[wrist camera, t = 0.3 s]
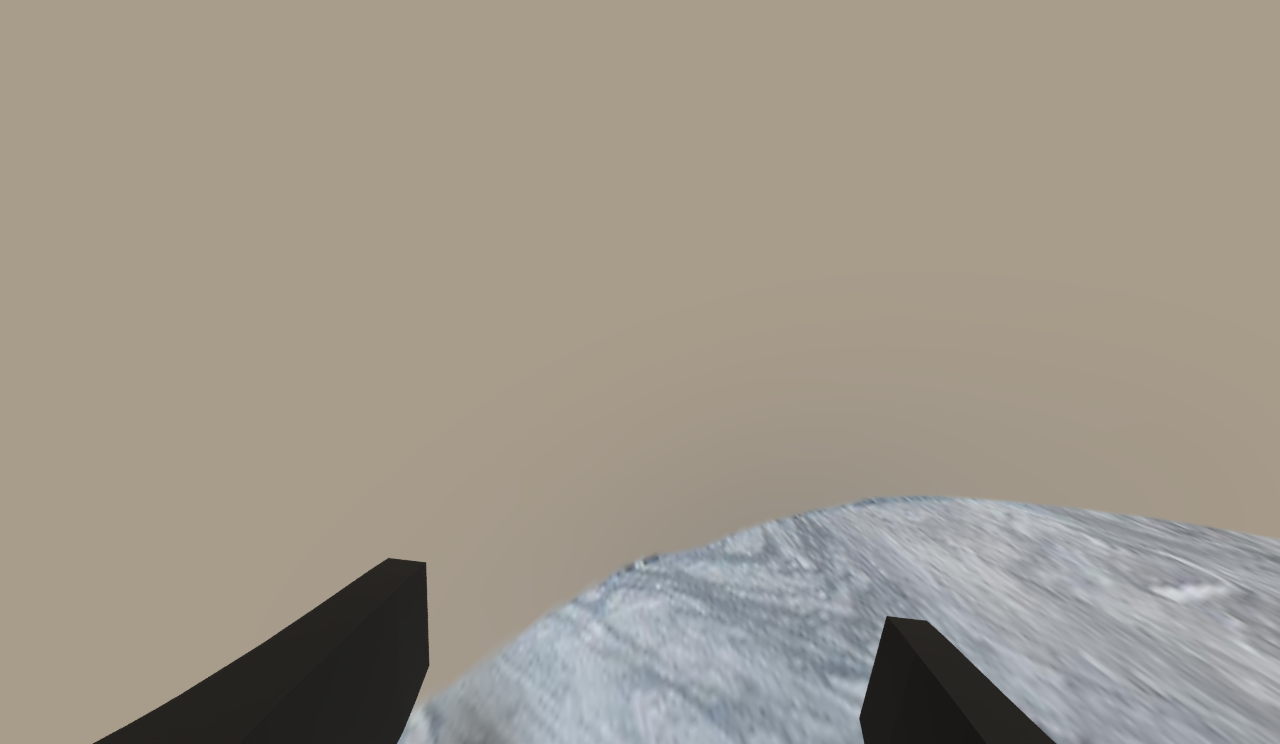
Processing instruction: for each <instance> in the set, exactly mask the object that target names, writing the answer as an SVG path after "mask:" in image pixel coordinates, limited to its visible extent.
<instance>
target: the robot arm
mask: <svg viewBox="0 0 1280 744" xmlns="http://www.w3.org/2000/svg"><path fill="white" fill-rule="evenodd" d="M428 667H429V642H428V609H427V577H426V562H417V561H409V560H400V559H391V558H388V559H386V560H385V561H383V562H382V563H380V564H379V565H377V566H375V567H374V568H373V569H371V570H369V571H368V572H367V573H365V574H364V575H362V576H361V577H359V578H358V579H356V580H355V581H353V582H352V583H351V584H349V585H348V586H346V587H345V588H343V589H342V590H340V591H339V592H338V593H336V594H335V595H333V596H332V597H330V598H329V599H327V600H326V601H325V602H323V603H322V604H320V605H319V606H317V607H316V608H314V609H313V610H312V611H310V612H309V613H307V614H306V615H304V616H303V617H301V618H300V619H298V620H297V621H295V622H294V623H292V624H291V625H289V626H288V627H286V628H285V629H283V630H282V631H280V632H279V633H277V634H276V635H274V636H273V637H272V638H270V639H268V640H267V641H266V642H264V643H263V644H261V645H259V646H258V647H256V648H255V649H253V650H251V651H250V652H248V653H247V654H245V655H243V656H242V657H240V658H238V659H237V660H235V661H234V662H232V663H231V664H229V665H228V666H226V667H224V668H222V669H221V670H219V671H218V672H216V673H214V674H213V675H211V676H210V677H208V678H206V679H205V680H203V681H202V682H200V683H198V684H197V685H195V686H194V687H192V688H190V689H189V690H187V691H186V692H184V693H183V694H181V695H179V696H177V697H176V698H174V699H172V700H170V701H169V702H167V703H165V704H164V705H162V706H160V707H159V708H157V709H155V710H153V711H151V712H150V713H148V714H146V715H144V716H143V717H141V718H139V719H137V720H136V721H134V722H132V723H130V724H128V725H127V726H125V727H123V728H121V729H119V730H117V731H116V732H114V733H112V734H110V735H108V736H106V737H104V738H103V739H101V740H99V741H97V742H95V743H93V744H397V742H398V741H399V739H400V737H401V735H402V733H403V730H404V728H405V726H406V723H407V721H408V718H409V716H410V713H411V711H412V709H413V706H414V704H415V701H416V699H417V696H418V693H419V691H420V688H421V686H422V683H423V680H424V678H425V675H426V672H427V670H428ZM859 719H860V724H861V729H862V734H863V739H864V744H1056V743H1055V742H1054V741H1053V740H1052V739H1051V738H1050V737H1048V736H1047V735H1046V734H1045V733H1044V732H1043V731H1042V730H1041V729H1040V728H1039V727H1038V726H1037V725H1036V724H1035V723H1034V722H1033V721H1031V720H1030V719H1029V718H1028V717H1027V716H1026V715H1025V714H1024V713H1023V712H1022V711H1021V710H1020V709H1019V708H1018V707H1017V706H1016V705H1015V704H1014V703H1013V702H1012V701H1011V700H1009V699H1008V698H1007V697H1006V696H1005V695H1004V694H1003V693H1002V692H1001V691H1000V690H999V689H998V688H997V687H996V686H995V685H994V684H993V683H992V682H991V681H990V680H989V679H988V678H987V677H986V676H985V675H984V674H983V673H982V672H981V671H980V670H979V669H978V668H976V667H975V666H974V665H973V664H972V663H971V662H970V661H969V660H968V659H967V658H966V657H965V656H964V655H963V654H962V653H961V652H960V651H959V650H958V649H957V648H956V647H955V646H954V645H953V644H952V643H951V642H950V641H948V640H947V639H946V638H945V637H944V636H943V635H942V634H941V633H940V632H939V631H938V630H937V629H936V628H934V627H933V626H932V625H931V624H930V623H929V622H928V621H924V620H915V619H907V618H898V617H889V616H887V617H886V621H885V624H884V628H883V632H882V635H881V639H880V643H879V647H878V650H877V654H876V658H875V662H874V665H873V669H872V673H871V677H870V680H869V684H868V688H867V691H866V695H865V699H864V703H863V706H862V710H861V714H860V718H859Z"/></svg>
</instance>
